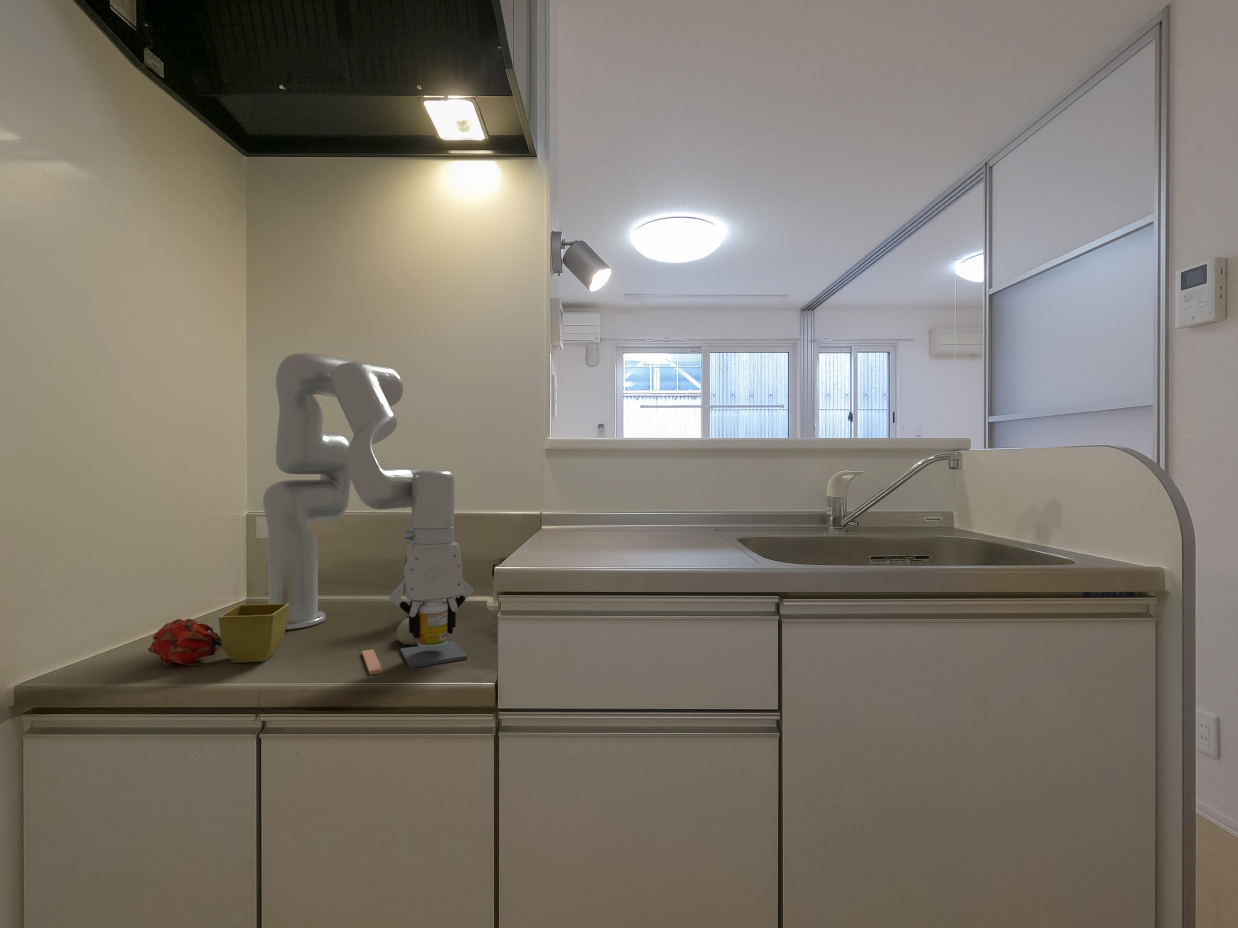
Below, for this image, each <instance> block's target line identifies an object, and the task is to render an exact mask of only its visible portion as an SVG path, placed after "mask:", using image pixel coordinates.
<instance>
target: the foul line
mask: <svg viewBox="0 0 1238 928" xmlns="http://www.w3.org/2000/svg"><path fill="white" fill-rule="evenodd" d="M361 655H362V657H363V658H362V659H363V662H364V664H365V666H366V670H367V672H368V674H369V675H377V674H383V667H382V665H381V663H380V661H379V659H378V656H377V654H376V652H375V650H374V648H373V649H366V650H361Z"/></svg>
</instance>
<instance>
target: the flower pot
mask: <svg viewBox="0 0 1238 928" xmlns="http://www.w3.org/2000/svg"><path fill="white" fill-rule="evenodd" d="M288 608H289V604H269V603H259V604H239V605H237V606H235V607H233V608H231V609H229V610H228V611H226V612H225V613H222V614H220V615H219V616H218V624H219V625H218V626H219V632H220V640H222V641H221V646H222V648H223V650H224V651H225V652H224V653H226V655H227V657H228V658H229V659H230V660H231V661H232V662H233V664H234V663H236V664H241V663H262V662H266V660H268V659H269V658H271V657H272V656H273V655H274V654H275V652H277V649H278V648H279V646H280V644H281V643H282V640H283V638H284V635H285V631H286V630H285V628H286V622H287V616H288Z"/></svg>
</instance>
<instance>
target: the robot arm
mask: <svg viewBox="0 0 1238 928" xmlns="http://www.w3.org/2000/svg"><path fill="white" fill-rule="evenodd" d="M275 376H276V377H275V388H276V395H277V400H278V406H279V408H278V409H279V411H278V412H279V413H278V423H277V425H278V426H277V433H276V434H277V435H276V446H275V447H276V448H275V463H276V466H277V468H278V469H279V471H281V472H283V473H286V474H289V475H319V479H289V480H288V479H287V480H281V481H277V482H275V483H272V484H271V485H270V486H268V487H267V489H266V490H265V491H264V494H263V500H262V504H263V511H264V514H265V520H266V526H267V536H268V604H289V608H288V616H287V622H286V628H285V631H286V630H294V629H295V630H296V629H301V628H302V629H303V628H307V627H313V626H314V625H318V624H321V623H323V622H324V621H325V620H326V613H325V612H324V611H321V610H319V609H318V606H319V605H318V602H319V601H318V600H319V598H318V593H319V591H318V590H319V585H318V583H319V578H318V575H319V574H318V572H319V571H318V570H319V569H318V568H319V567H318V565H319V563H318V561H319V560H318V554H319V553H318V551H319V550H318V547H319V546H318V540H317V537H316V535H315V533H314V532H313V530H312V528H310V526H309V524H308V523H311V522H319V521H320V522H321V521H329V520H335V519H339V518H340V517H342V516H343V515H344V513H345V512H346V511H347V508H348V506H349V502H350V501H349V500H350V493H351V492H350V491H351V483H352V485H353V487H354V489H355V492H356V494H357V495H358V497H359V499H360V501H362V503H363V504H364V505H365V506H367V507H369V508H371V509H373V510H392V509H406V508H411V527H410V529H409V530H408V531H403V534H402V535H403V540H408V541H410V542H411V543H410V544H407V547H406V553H405V559H404V565H403V566H404V568H403V576H402V578H403V579H402V581H401V582H400V584H399V585H398V586H397V587H396V588H395V589H394V591H393V592H392V593H391V594H390V595H389V597H388V598H389V600H390V602H391V603H393V604H395V605H396V606H397V607H399V608H400V609H401V610H402V611H404V612H405V613H406V614H407V615H408V618H409V633H412V635H413V637H414V638H418V637H419V616H418V615H417V610H418V607H419V604H420V603H421V602H422V601H430V600H439V599H443V600H445V601H446V602H445V603H446V604H447V606H448V635H449V634H451V635H452V634H453V633H454V628H456V627H457V624H456V621H457V620H456V618H457V617H456V615H457V614H456V613H457V612H458V610H459V608H460V607H461V606H462V605H463V604H464V602H465V601H466V599H468V598H469V597H470V596H471V595H472V594H473V593H474V592H475V591H474V590H475V589H474V588H473V587H472V586H470V584H469V582H467V581H466V580H465V579H464V578H463V577H464V576H463V564H462V556H461V555H462V554H461V550H460V549H461V548H460V545H459V543H458V542H455V476H454V474H453V473H452V472H451V471H449V470H439V469H438V470H436V469H434V470H433V469H432V470H431V469H430V470H429V469H428V470H426V469H424V468H423V469H422V468H404V467H403V468H400V467H397V468H394V467H393V468H381V465H379V464H380V463H378V460H377V458H376V455H375V454H374V451H373V445H375V444H378V443H379V442H380V443H381V441H383V440H385V439H387V438H388V437H390V436H391V435H392V434H393V433H394V432H395V431H396V429H397V427H398V420H397V417H396V415H395V413H394V411H393V409H392V406H395V405H397V404H398V403H399V402H400V401H401V399H402V397H403V394H404V385H403V381H402V379H401V376H400V375H399V373H397V371H395V370H394V369H392V368H390V367H388V366H383V365H377V364H376V365H375V364H372V363H367V362H362V361H356V360H350V359H346V358H339V357H333V356H328V355H324V354H323V355H322V354H317V353H306V352H305V353H303V352H297V353H293V354H290V355H288V356H286V357H284V358H283V360H281V362H280V364H279V366H278V368H277V371H276V375H275ZM314 395H319V396H327V397H334V398H336V399H337V401H338V403H339V405H340V407H341V410H342V411H343V414H344V415H345V419H346V420H347V422H348V425H349V427H350V429H351V431H352V433H353V437H352V438H351V440H350V442H349V440H348V439H347V438H346V437H345V436H344V435H341V434H338V433H335V432H323V421H324V414H323V410H322V407H321V405H320V403H319V401H318V399H317V398H316V397H315V396H314ZM402 595H404V596H405V597H406V599H407V600H408V601H409V602H407V601H405V600H404V599H402V598H401V596H402Z"/></svg>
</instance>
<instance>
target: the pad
mask: <svg viewBox="0 0 1238 928" xmlns="http://www.w3.org/2000/svg"><path fill="white" fill-rule="evenodd" d="M399 652H400V653H401V655H402V657H403V659H404V661H405V662H406V664H407V666H408V668H409V669H413V668H419V667H420V668H421V667H426V666H431V665H438V664H443V663H445V664H446V663H451V662H457V661H463V660H467V659H468V655H467V654H466V652H464V650H463V649H462V648H461V647H460V646H459V644H457V642H455V640H450V641H447V643H446V644H445V645H443V646H440V647H436V648H423V647H420V646H418V645H414V646H410V647H409V646H408V647H402V648H400V651H399Z"/></svg>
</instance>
